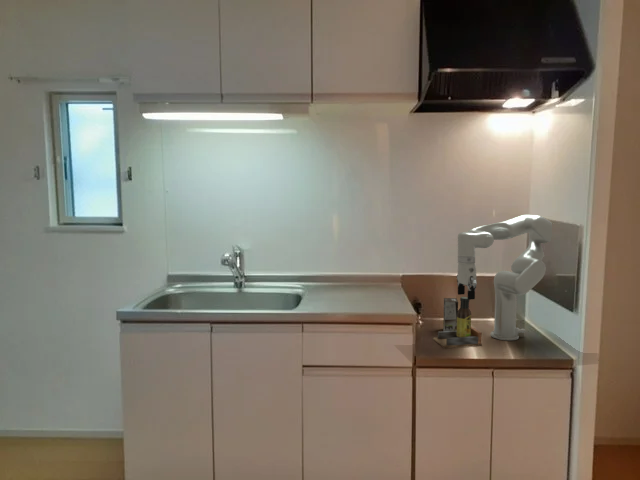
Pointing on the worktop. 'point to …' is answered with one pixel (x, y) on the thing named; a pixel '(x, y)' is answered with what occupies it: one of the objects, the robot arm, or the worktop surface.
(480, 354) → the worktop surface
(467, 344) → the channel
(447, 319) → the coffee box
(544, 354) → the worktop surface
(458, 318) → the sauce bottle
